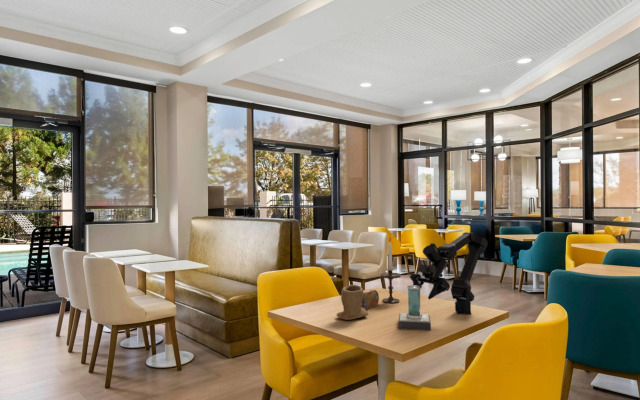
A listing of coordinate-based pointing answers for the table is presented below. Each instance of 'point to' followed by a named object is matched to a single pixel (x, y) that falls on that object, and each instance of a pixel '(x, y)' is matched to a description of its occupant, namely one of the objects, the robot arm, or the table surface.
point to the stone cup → (352, 303)
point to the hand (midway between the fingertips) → (420, 296)
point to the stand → (414, 322)
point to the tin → (370, 299)
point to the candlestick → (390, 277)
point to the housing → (414, 302)
